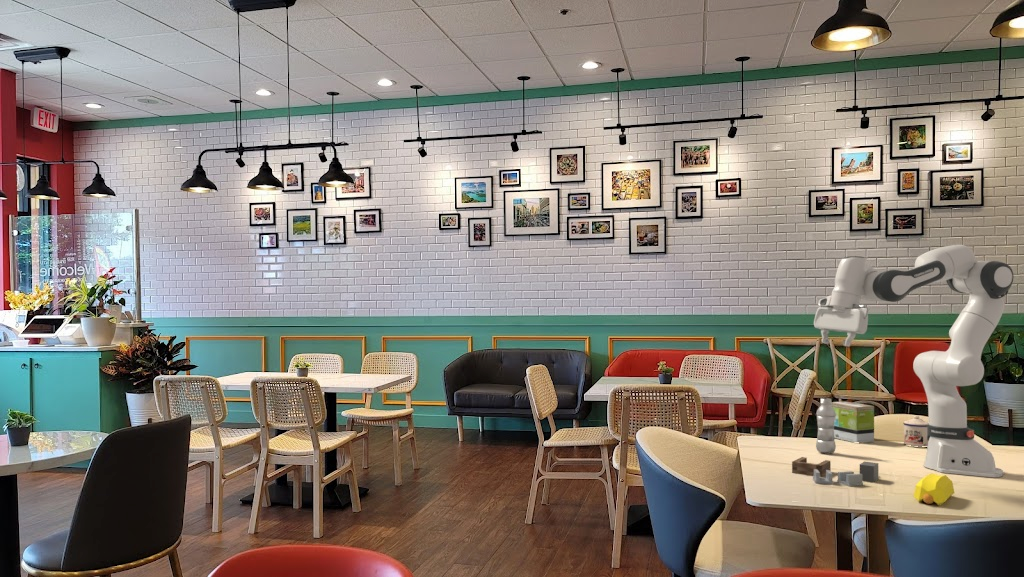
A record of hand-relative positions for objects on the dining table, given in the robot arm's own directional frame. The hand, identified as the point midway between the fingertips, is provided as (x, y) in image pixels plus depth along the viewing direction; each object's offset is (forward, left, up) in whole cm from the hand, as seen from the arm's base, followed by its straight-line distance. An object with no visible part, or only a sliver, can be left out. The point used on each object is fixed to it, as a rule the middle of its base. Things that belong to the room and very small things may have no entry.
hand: (835, 344), depth 238 cm
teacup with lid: (-12, -71, -41) cm, 83 cm away
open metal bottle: (+12, -31, -41) cm, 53 cm away
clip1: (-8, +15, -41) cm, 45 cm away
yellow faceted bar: (-31, +19, -42) cm, 55 cm away
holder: (+6, +6, -41) cm, 42 cm away
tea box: (+13, -69, -42) cm, 82 cm away
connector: (-11, +3, -41) cm, 43 cm away
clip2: (-1, +18, -41) cm, 45 cm away
